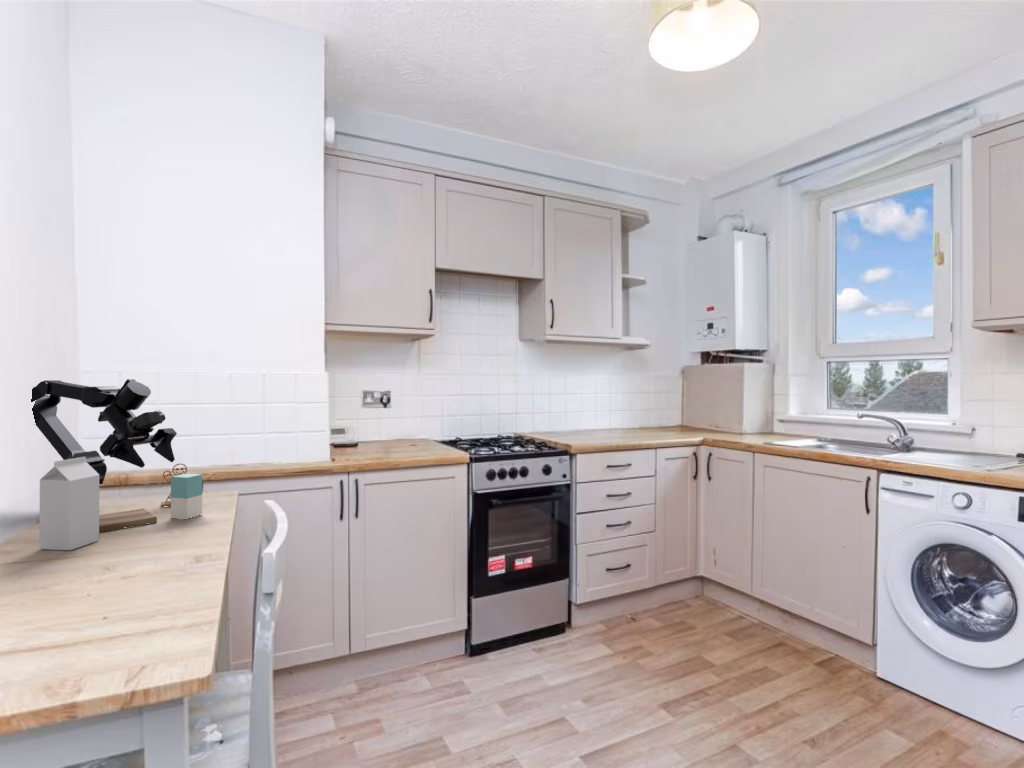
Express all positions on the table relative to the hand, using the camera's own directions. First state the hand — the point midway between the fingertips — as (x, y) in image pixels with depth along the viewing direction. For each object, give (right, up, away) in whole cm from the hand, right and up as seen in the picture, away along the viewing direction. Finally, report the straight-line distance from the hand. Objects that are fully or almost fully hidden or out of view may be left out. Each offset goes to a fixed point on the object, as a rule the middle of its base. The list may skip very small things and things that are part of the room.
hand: (158, 463), depth 138 cm
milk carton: (-2, -14, -25) cm, 29 cm away
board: (-4, -14, -8) cm, 16 cm away
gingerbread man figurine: (-2, -14, +11) cm, 18 cm away
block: (+8, -14, -1) cm, 16 cm away
